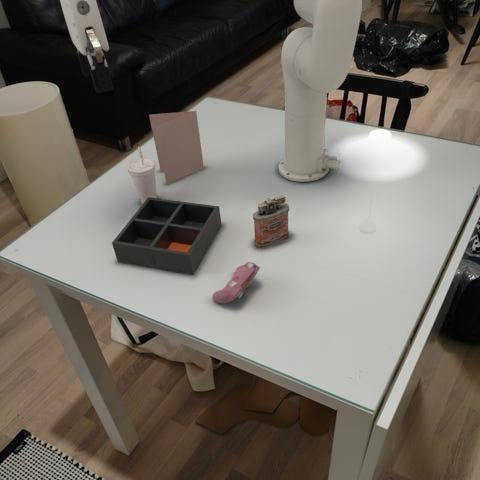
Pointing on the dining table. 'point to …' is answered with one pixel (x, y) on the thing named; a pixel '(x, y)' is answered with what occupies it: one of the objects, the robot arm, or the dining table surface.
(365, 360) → the dining table surface
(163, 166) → the greeting card
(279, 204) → the lighter
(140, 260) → the crate
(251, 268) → the video game controller
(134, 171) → the smoothie
